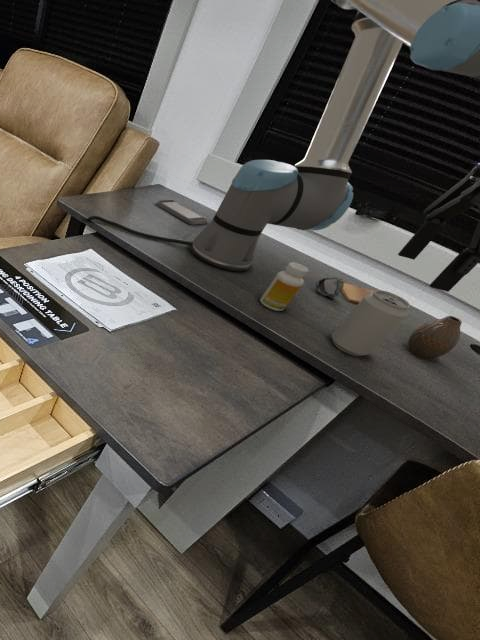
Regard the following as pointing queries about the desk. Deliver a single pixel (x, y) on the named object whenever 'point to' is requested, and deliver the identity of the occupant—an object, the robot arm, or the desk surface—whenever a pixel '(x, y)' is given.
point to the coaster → (355, 293)
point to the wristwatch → (321, 287)
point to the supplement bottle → (284, 287)
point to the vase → (435, 337)
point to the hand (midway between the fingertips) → (421, 272)
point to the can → (370, 322)
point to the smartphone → (182, 212)
